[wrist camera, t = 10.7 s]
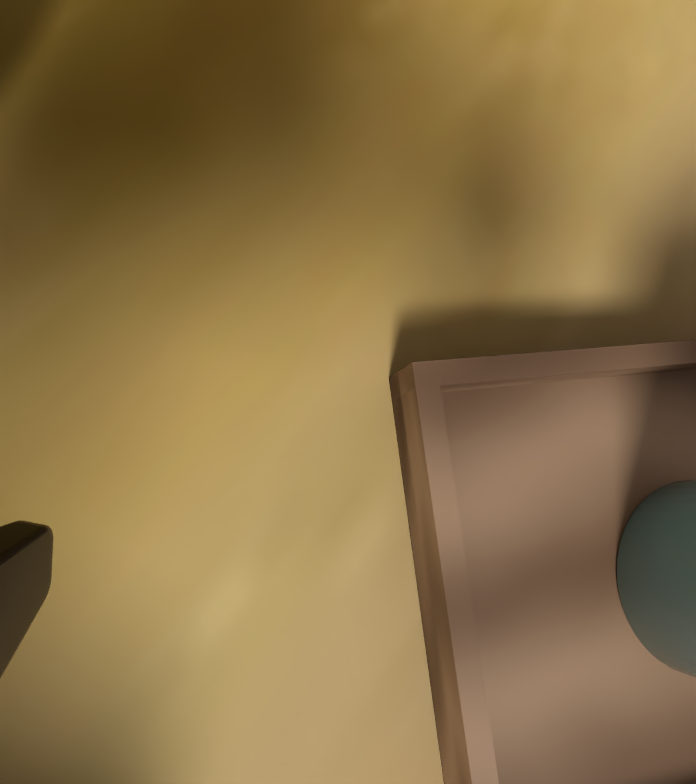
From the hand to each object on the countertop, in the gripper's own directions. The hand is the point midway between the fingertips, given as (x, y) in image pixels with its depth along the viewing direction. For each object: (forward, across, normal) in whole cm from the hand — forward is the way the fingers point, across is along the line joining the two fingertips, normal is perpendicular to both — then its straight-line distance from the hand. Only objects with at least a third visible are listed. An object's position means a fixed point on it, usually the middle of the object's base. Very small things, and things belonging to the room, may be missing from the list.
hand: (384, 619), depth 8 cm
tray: (+14, -12, +6) cm, 19 cm away
